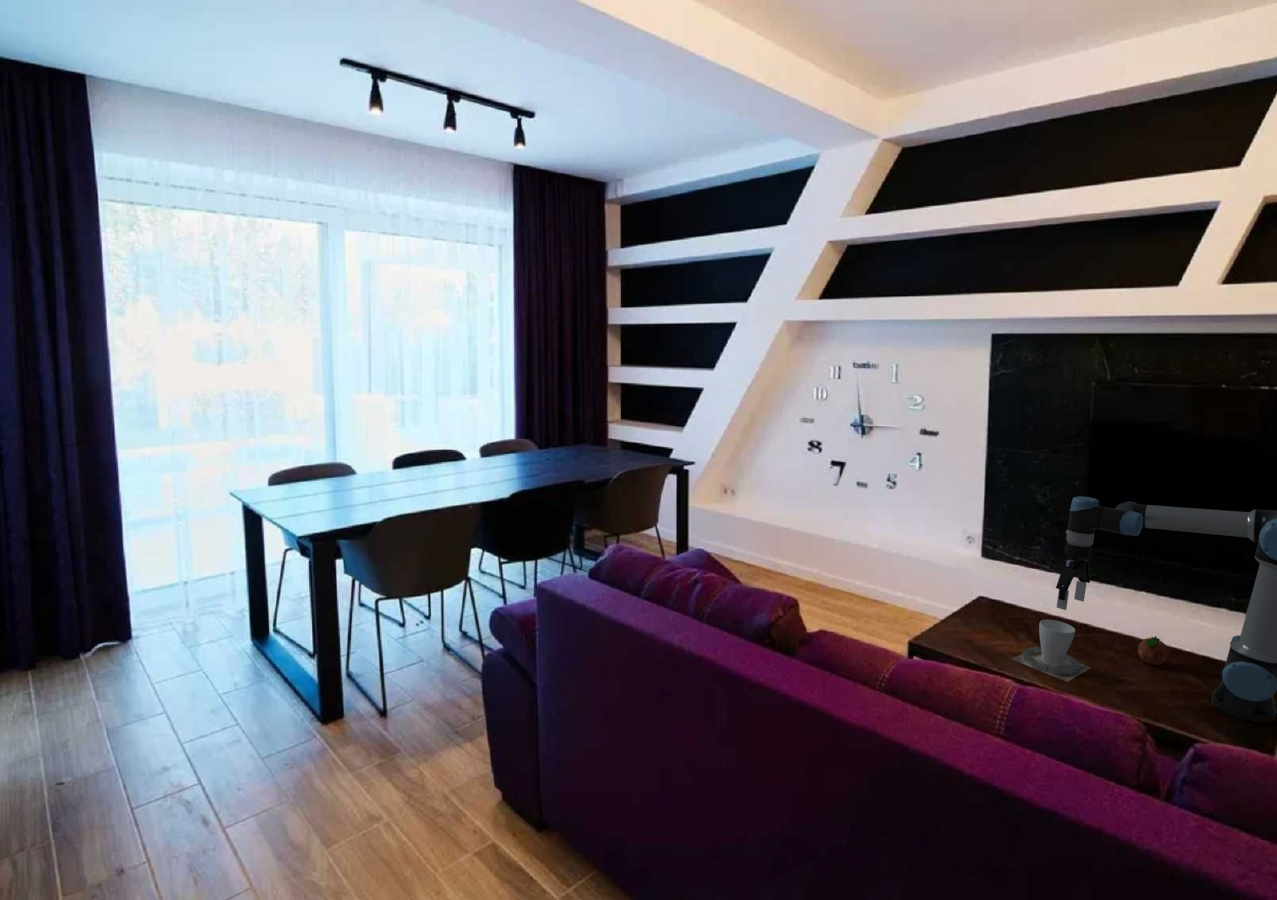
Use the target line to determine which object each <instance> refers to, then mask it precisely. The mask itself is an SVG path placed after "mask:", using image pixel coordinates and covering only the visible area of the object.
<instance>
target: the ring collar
mask: <svg viewBox="0 0 1277 900" xmlns="http://www.w3.org/2000/svg"><path fill="white" fill-rule="evenodd" d="M1022 653H1023V658H1024V661H1026V662H1027V663H1028V664H1030V665H1031V666H1032V667H1035V668H1037V669H1040V670H1042V671H1044V672H1047V673H1052V674H1057V675H1076V674H1077V673H1079V672H1080V668H1081V666H1080V664H1081V663H1080V662H1079V660H1077V659H1076V658H1074V657H1073V656H1072V655H1069V654H1067V653H1066V655H1065V657H1064V659H1063V660H1065V661H1067V662H1068V663H1070V664H1071V665H1073V667H1072V668H1057V667H1052V666H1048V665H1045V664H1043V663H1040V662H1038V661H1036V660H1034V659H1033V658H1032V657H1030V655H1032V654H1042V651H1041V646H1031V647H1028V648H1025V649H1023V652H1022ZM1079 663H1080V664H1079ZM1032 667H1031V668H1032ZM1037 669H1036V670H1037ZM1042 671H1041V672H1042ZM1044 672H1043V673H1044ZM1047 673H1046V674H1047Z"/></svg>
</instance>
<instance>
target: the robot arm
mask: <svg viewBox="0 0 1277 900" xmlns="http://www.w3.org/2000/svg"><path fill="white" fill-rule="evenodd" d="M1067 524H1068V525H1067V530H1066V531H1065V534H1066V539H1065V540H1066V542H1065V544H1064V553H1065V554H1066V555H1068V556H1069V558H1068V559H1064V560H1063V565H1062V569H1061V571H1060V573H1059V577H1058V580H1057V583H1056V585H1055V589H1057V590H1058V595H1057V602H1056V608H1058V609H1060V610H1063V611H1067V607H1068V601H1069V600H1068V599H1069V594H1070V591H1069V588H1070V586H1071V584H1072V581H1073V580H1074V577H1075V575H1076V576H1077V580H1076V585H1075V590H1074V591H1075V592H1074V596H1073V597H1074V600H1076V601H1079V602H1084V601H1085V597H1086V596H1085V595H1086V589H1087V584H1090V583H1091V571H1090V568H1091V567H1090V557H1092V552H1093V546H1092V545H1094V541H1095V540H1094V539H1095V532H1096V530H1099V531H1100V530H1101V531H1105V532H1110V533H1115V534H1121V535H1124V536H1134V537H1136V536H1139V535H1140V534H1141V532H1142V528H1145V529H1155V530H1156V529H1157V530H1163V531H1164V530H1166V531H1178V532H1187V533H1197V534H1207V535H1208V534H1209V535H1218V536H1219V535H1221V536H1227V537H1229V536H1230V537H1239V538H1240V537H1241V538H1248V539H1249V540H1250V541H1252V542H1257V547H1256V550H1255V554H1254V558H1255V560H1256V562H1258V564H1259V566H1258V570H1257V573H1256V576H1255V577H1256V578H1255V581H1254V584H1253V585H1254V586H1253V588H1252V592H1251V597H1250V600H1249V602H1248V606H1247V609H1246V614H1245V616H1244V621H1243V625H1242V629H1241V632H1240V635H1239V634H1237V635H1234V636H1232V638H1231V639H1230V640H1231V641H1230V642H1229V650H1228V653H1227V656H1226V661H1225V664H1224V668H1223V669H1222V672H1221V677H1222V680H1221V682H1220V683H1219V684H1218V685H1217V687H1216V688H1215V690H1214V691H1213V692H1212V694H1211V699H1210V702H1211V704H1212V705H1213V706H1214V707H1215V708H1217V709H1218V710H1219V711H1221V712H1223V713H1224V714H1227V715H1229V716H1231V717H1234V718H1237V719H1240V720H1243V721H1246V720H1263V719H1267V718H1271V717H1272V716H1275V715H1276V713H1277V708H1276V703H1275V698H1274V695H1275V694H1276V693H1277V510H1276V509H1274V510H1273V509H1272V510H1270V509H1257V508H1256V509H1253V510H1252V511H1249V512H1248V511H1236V510H1235V511H1234V510H1221V509H1208V508H1207V509H1205V508H1194V507H1179V506H1178V507H1177V506H1167V505H1151V504H1141V503H1137V502H1134V501H1124V502H1122V503H1120V504H1118V505H1117V506H1116V507H1115V508H1112V507H1108V506H1107V507H1106V506H1103V505H1102V506H1101V505H1100V502H1099V499H1097V498H1094V497H1089V496H1075V497H1073V498H1072V501H1071V504H1070V508H1069V516H1068V523H1067Z"/></svg>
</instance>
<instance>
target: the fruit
mask: <svg viewBox="0 0 1277 900" xmlns="http://www.w3.org/2000/svg"><path fill="white" fill-rule="evenodd" d="M1137 653H1138V656H1139V658H1140V659H1141V660H1142V661H1143V662H1145V663H1146V664H1149V665H1153V666H1160V665H1162V664H1164V663H1165V662H1166V661H1167V660H1168V658H1169V649H1168V646H1167V645H1166V644H1165V642H1163V641H1162V640H1161V639H1160V638H1158V637H1157V636H1156V635H1155V636H1154V637H1153V636H1150V637H1147V638H1144V639H1143V640H1141V641H1140V642H1139V644H1138V647H1137Z"/></svg>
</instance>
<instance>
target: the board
mask: <svg viewBox="0 0 1277 900" xmlns="http://www.w3.org/2000/svg"><path fill="white" fill-rule="evenodd" d="M1030 657H1032V658H1033V659H1034V660H1036V661H1038V662H1040V663H1043V662H1042V661H1041V657H1042V654H1032V655H1030ZM1011 660H1012V661H1015V662H1018V664H1019V663H1020V664H1022V665H1025V666H1027V667H1030V668H1033V669H1034V670H1037V671H1039V672H1042V673H1045V674H1047V675H1049V676H1052V677H1054V678H1057V679H1059V680H1061V681H1064V682H1070V681H1071V680H1073V679H1075V678H1076V677H1078V676H1079V675H1082V674H1084V673H1085V672H1087V671H1089V670H1090V669H1091V668H1092V667H1091V666H1088V665H1085V664H1083V663H1080V662H1079V664H1080V666H1081V668H1080V672H1079V673H1077V674H1076V675H1057V674H1052V673H1047V672H1044V671H1042V670H1040V669H1037V668H1035V667H1032V666H1031V665H1030V664H1028V663H1027V662H1026V661H1024V658H1023V652H1022V653H1020V654H1018V655H1016V656H1015V657H1012V658H1011ZM1043 664H1044V663H1043ZM1045 665H1046V664H1045ZM1072 667H1073V665H1071V664H1070V663H1068V662H1067V661H1065V660H1063V663H1062V666H1061V667H1057V668H1072Z"/></svg>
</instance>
